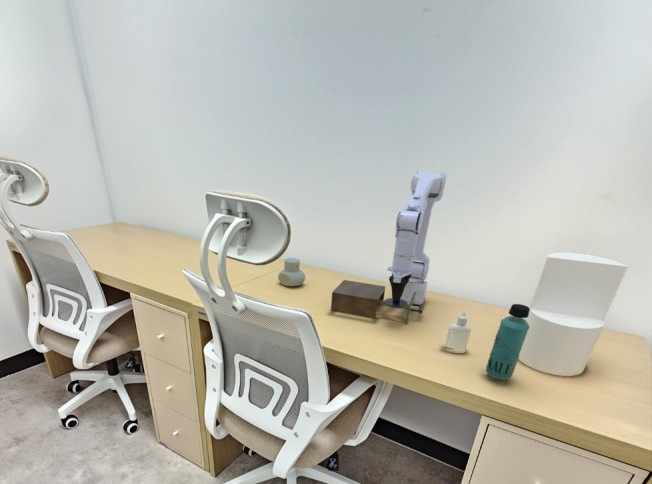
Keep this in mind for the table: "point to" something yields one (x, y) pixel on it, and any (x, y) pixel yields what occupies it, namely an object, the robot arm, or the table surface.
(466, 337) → the eye dropper bottle
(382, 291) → the cabinet
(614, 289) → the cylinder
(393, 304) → the lid
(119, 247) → the table surface
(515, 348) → the beverage bottle
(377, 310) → the drawer
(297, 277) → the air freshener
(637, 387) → the table surface
